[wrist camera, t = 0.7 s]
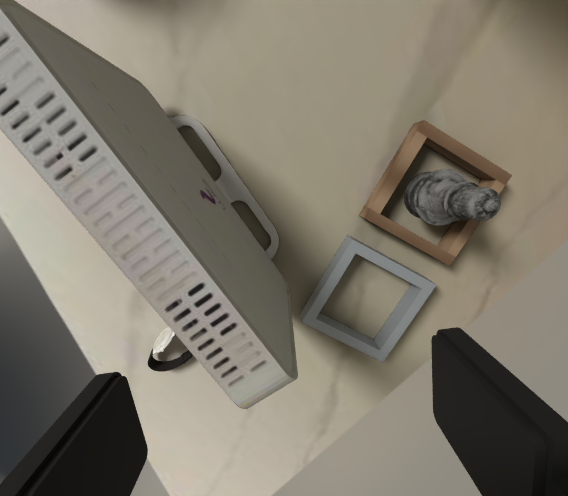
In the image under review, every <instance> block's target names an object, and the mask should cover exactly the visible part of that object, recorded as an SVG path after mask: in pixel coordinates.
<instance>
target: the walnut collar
mask: <svg viewBox="0 0 568 496" xmlns="http://www.w3.org/2000/svg"><path fill="white" fill-rule="evenodd" d="M423 144H425V145H426V146H428V147H430V148H431V149H433V150H435V151H436V152H438V153H440V154H441V155H443V156H444V157H446V158H448V159H449V160H451V161H453V162H454V163H456V164H457V165H459V166H461V167H462V168H464V169H466V170H467V171H469V172H470V173H472V174H474V175H475V176H477V177H479V178H480V179H481V181H480V182H479V184H478V186H479V187H487V188H491V189H493V190H495V191H496V192H497V193H498V194H500V192H501V191H502V189H503V188H504V186H505V185H506V184H507V182H508V181H509V179H510V178H511V176H512V175H511V174H509V173H508V172H506V171H505V170H503V169H501V168H500V167H498V166H497V165H495V164H493V163H492V162H490V161H489V160H487V159H485V158H484V157H482V156H481V155H479V154H477V153H476V152H474V151H473V150H471V149H469V148H468V147H466V146H465V145H463V144H461V143H460V142H458V141H457V140H455V139H453V138H452V137H450V136H449V135H447V134H445V133H444V132H442V131H441V130H439V129H437V128H436V127H434V126H433V125H431V124H429V123H428V122H426V121H425V120H423V121H420V122H418V123H415V124H413V126H412V128H411V129H410V131H409V133H408V134H407V136H406V138H405V139H404V141H403V143H402V144H401V146H400V148H399V149H398V151H397V153H396V154H395V156H394V158H393V159H392V161H391V163H390V164H389V166H388V168H387V169H386V171H385V173H384V174H383V176H382V178H381V179H380V181H379V183H378V184H377V186H376V188H375V189H374V191H373V193H372V194H371V196H370V198H369V199H368V201H367V203H366V204H365V206H364V208H363V209H362V211H361V213H360V214H359V216H361V217H363V218H365V219H366V220H368V221H370V222H372V223H374V224H375V225H377V226H379V227H381V228H383V229H384V230H386V231H388V232H390V233H391V234H393V235H395V236H397V237H399V238H400V239H402V240H404V241H406V242H408V243H409V244H411V245H413V246H415V247H417V248H418V249H420V250H422V251H424V252H426V253H427V254H429V255H431V256H433V257H434V258H436V259H438V260H440V261H442V262H443V263H445V264H447V265H449V266H450V265H451V263H452V262H453V260H454V259H455V257H456V256H457V255H458V253H459V252H460V250H461V249H462V247H463V246H464V244H465V243H466V241H467V240H468V239H469V237H470V236H471V234H472V233H473V231H474V230H475V228H476V227H477V226H478V224H479V223H480V221H475V220H471V219H468V220H463V221H458V220H456V221H454V222H453V223H452V224H451V226H450V227H449V229H448V230H447V232H446V233H445V235H444V236H443V238H442V239H441V241H440V242H439V244H438V245H437V246H436V245H434V244H432V243H430V242H429V241H427V240H425V239H423V238H421V237H420V236H418V235H416V234H414V233H413V232H411V231H409V230H407V229H406V228H404V227H402V226H400V225H398V224H397V223H395V222H393V221H391V220H390V219H388V218H386V217H384V216H383V215H381V214H380V213H381V212H382V210H383V208H384V207H385V205H386V203H387V202H388V200H389V198H390V197H391V195H392V194H393V192H394V190H395V189H396V187H397V185H398V184H399V182H400V181H401V179H402V177H403V176H404V174H405V172H406V171H407V169H408V168H409V166H410V164H411V163H412V161H413V159H414V158H415V156H416V155H417V153H418V151H419V150H420V148H421V146H422V145H423Z"/></svg>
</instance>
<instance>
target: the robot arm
mask: <svg viewBox="0 0 568 496" xmlns="http://www.w3.org/2000/svg"><path fill="white" fill-rule="evenodd" d="M432 379H433V381H432V382H433V413H434V417H435V419H436V422H437V424H438V426H439V427H440V428H441V430H442V432H443V433H444V435H445V437H446V438H447V440H448V442H449V443H450V445H451V446H452V448H453V449H454V451H455V453H456V454H457V456H458V458H459V459H460V461H461V462H462V464H463V466H464V467H465V469H466V470H467V472H468V474H469V475H470V477H471V478H472V480H473V482H474V483H475V485H476V486H477V488H478V490H479V491H480V493H481V494H482V496H568V422H567V421H566V420H564V419H563V418H562V417H561V416H560V415H559V414H558V413H557V412H555V411H554V410H553V409H552V408H551V407H550V406H548V405H547V404H546V403H545V402H544V401H543V400H542V399H541V398H539V397H538V396H537V395H536V394H535V393H534V392H533V391H531V390H530V389H529V388H528V387H527V386H526V385H525V384H523V383H522V382H521V381H520V380H519V379H518V378H517V377H515V376H514V375H513V374H512V373H511V372H509V370H507V369H506V368H505V367H504V366H503V365H502V364H500V363H499V362H498V361H497V360H496V359H495V358H494V357H493V356H491V355H490V354H489V353H488V352H487V351H486V350H485V349H483V348H482V347H481V346H480V345H479V344H478V343H476V342H475V341H474V340H473V339H472V338H471V337H470V336H469V335H467V334H466V333H465V332H464V331H463V330H462V329H460V328H449V329H441V330H438V331H437V335H434V336H432ZM147 452H148V449H147V444H146V441H145V437H144V434H143V431H142V427H141V424H140V421H139V417H138V414H137V411H136V407H135V404H134V400H133V397H132V394H131V390H130V387H129V384H128V380H127V378H126V377H125V376H122V375H121V374H120V373H119V372H113V373H105V374H99V375H97V376H95V377H94V378H93V380H92V381H91V382H90V383H89V384H88V385H87V386H86V388H85V389H84V390H83V391H82V392H81V393H80V394H79V395H78V397H77V398H76V399H75V400H74V401H73V402H72V403H71V404H70V406H69V407H68V408H67V409H66V410H65V411H64V412H63V414H62V415H61V416H60V417H59V418H58V419H57V420H56V421H55V423H54V424H53V425H52V426H51V427H50V428H49V430H48V431H47V432H46V433H45V434H44V435H43V437H41V439H40V440H39V441H38V442H37V443H36V444H35V445H34V446H33V448H32V449H31V450H30V451H29V452H28V453H27V454H26V456H25V457H24V458H23V459H22V460H21V461H20V462H19V463H18V465H17V466H16V467H15V468H14V469H13V470H12V471H11V473H10V474H9V475H8V476H7V477H6V478H5V479H4V481H3V482H2V483H1V484H0V496H130V495H131V492H132V490H133V488H134V486H135V484H136V481H137V479H138V477H139V475H140V472H141V470H142V468H143V466H144V464H145V461H146V459H147Z"/></svg>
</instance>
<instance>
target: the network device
mask: <svg viewBox="0 0 568 496" xmlns="http://www.w3.org/2000/svg"><path fill="white" fill-rule="evenodd" d="M182 126H191V127H192V128H193V129H194V130H195V131H196V132H197V134H198V135H199V137H200V138H201V140H202V141H203V142H204V144H205V145H206V147H207V148H208V149H209V151H210V152H211V154H212V155H213V156H214V158H215V159H216V161H217V162H218V164H219V165H220V167H221V175H220V177H219V179H218V180H216V181H214V180H213V179H212V177H211V176H210V175H209V173H208V172H207V170H206V169H205V168H204V166H203V165H202V163H201V162H200V161H199V159H198V158H197V157H196V155H195V154H194V152H193V151H192V150H191V148H190V147H189V145H188V144H187V143H186V141H185V140H184V138H183V137H182V136H181V134H180V133H179V132H178V129H179V128H180V127H182ZM0 129H1V131H2V132H3V133H4V134H5V135H6V136H7V138H8V139H9V140H10V141H11V142H12V144H13V145H14V146H15V147H16V148H17V149H18V151H19V152H20V153H21V154H22V155H23V156H24V158H25V159H26V160H27V161H28V162H29V163H30V165H31V166H32V167H33V168H34V169H35V170H36V172H37V173H38V174H39V175H40V176H41V177H42V179H43V180H44V181H45V182H46V183H47V184H48V186H49V187H50V188H51V189H52V190H53V191H54V193H55V194H56V195H57V196H58V197H59V199H60V200H61V201H62V202H63V203H64V204H65V206H66V207H67V208H68V209H69V210H70V211H71V213H72V214H73V215H74V216H75V217H76V218H77V220H78V221H79V222H80V223H81V224H82V225H83V227H84V228H85V229H86V230H87V231H88V232H89V234H90V235H91V236H92V237H93V238H94V239H95V241H96V242H97V243H98V244H99V245H100V246H101V248H102V249H103V250H104V251H105V252H106V254H107V255H108V256H109V257H110V258H111V259H112V261H113V262H114V263H115V264H116V265H117V266H118V268H119V269H120V270H121V271H122V272H123V273H124V275H125V276H126V277H127V278H128V279H129V280H130V282H131V283H132V284H133V285H134V286H135V287H136V289H137V290H138V291H139V292H140V293H141V294H142V296H143V297H144V298H145V299H146V300H147V302H148V303H149V304H150V305H151V306H152V307H153V309H154V310H155V311H156V312H157V313H158V314H159V316H160V317H161V318H162V319H163V320H164V321H165V323H166V324H167V325H168V326H169V327H170V328H171V330H172V331H173V332H174V333H175V334H176V335H177V337H178V338H179V339H180V340H181V341H182V342H183V344H184V345H185V346H186V347H187V348H188V349H189V351H190V352H191V353H192V354H193V355H194V357H195V358H196V359H197V360H198V361H199V362H200V364H201V365H202V366H203V367H204V368H205V369H206V371H207V372H208V373H209V374H210V375H211V376H212V378H213V379H214V380H215V381H216V382H217V383H218V385H219V386H220V387H221V388H222V389H223V390H224V392H225V393H226V394H227V395H228V396H229V397H230V399H231V400H232V401H233V402H234V403H235V404H236V405H237V406H238V407H240V408H242V409H248V408H249V407H251V406H253V405H254V404H256V403H258V402H259V401H261V400H263V399H264V398H266V397H267V396H269V395H271V394H272V393H274V392H276V391H277V390H279V389H281V388H282V387H284V386H286V385H287V384H289V383H291V382H292V381H294V380H296V379H297V377H298V372H297V362H296V352H295V342H294V332H293V322H292V311H291V301H290V291H289V287H288V285H287V283H286V281H285V279H284V277H283V276H282V274H281V273H280V272H279V270H278V269H277V267H276V266H275V265H274V263H273V262H272V261H271V259H272V258H273V257H274V255H275V254H276V252H277V250H278V245H279V237H278V233H277V231H276V229H275V227H274V226H273V224H272V223H271V221H270V220H269V219H268V217H267V216H266V214H265V213H264V211H263V210H262V209H261V207H260V206H259V204H258V203H257V201H256V200H255V199H254V197H253V196H252V194H251V193H250V191H249V190H248V189H247V187H246V186H245V184H244V183H243V181H242V180H241V179H240V177H239V176H238V174H237V173H236V171H235V170H234V169H233V167H232V166H231V164H230V163H229V161H228V160H227V159H226V157H225V156H224V154H223V153H222V151H221V150H220V149H219V147H218V146H217V144H216V143H215V141H214V140H213V139H212V137H211V136H210V134H209V133H208V131H207V130H206V129H205V127H204V126H203V125H202V124H201V123H199V122H198V121H197V120H195V119H193V118H191V117H188V116H175V117H172V118H170V119H169V118H168V116H167V115H166V114H165V112H164V111H163V109H162V108H161V107H160V105H159V104H158V102H157V101H156V100H155V98H154V97H153V96H152V94H151V93H150V92H149V91H148V90H147V89H146V88H145V86H144V85H143V84H142V83H140V82H139V81H138V80H136V79H135V78H133V77H132V76H130V75H129V74H127V73H126V72H124V71H122V70H121V69H119V68H118V67H116V66H115V65H113V64H112V63H110V62H109V61H107V60H105V59H104V58H102V57H101V56H99V55H98V54H96V53H95V52H93V51H91V50H90V49H88V48H87V47H85V46H84V45H82V44H81V43H79V42H78V41H76V40H74V39H73V38H71V37H70V36H68V35H67V34H65V33H64V32H62V31H61V30H59V29H57V28H56V27H54V26H53V25H51V24H50V23H48V22H47V21H45V20H43V19H42V18H40V17H39V16H37V15H36V14H34V13H33V12H31V11H30V10H28V9H26V8H25V7H23V6H22V5H20V4H19V3H17V2H16V1H14V0H0ZM237 200H240V201H244V202H245V203H247V205H248V206H249V207H250V209H251V210H252V212H253V213H254V214H255V216H256V217H257V219H258V220H259V221H260V223H261V224H262V226H263V227H264V228H265V230H266V231H267V233H268V234H269V236H270V237H271V244H270V246H269V247H268V248H267V249H266V250H264V249H263V248H262V247H261V245H260V244H259V242H258V241H257V240H256V238H255V237H254V236H253V234H252V233H251V231H250V230H249V229H248V227H247V226H246V224H245V223H244V222H243V220H242V219H241V218H240V216H239V215H238V213H237V212H236V211H235V209H234V208H233V206H232V205H231V203H232V202H234V201H237Z"/></svg>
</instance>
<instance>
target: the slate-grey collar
mask: <svg viewBox="0 0 568 496" xmlns="http://www.w3.org/2000/svg"><path fill="white" fill-rule="evenodd" d="M355 254H358V255H360V256H362V257H364V258H365V259H367V260H369V261H371V262H373V263H375V264H377V265H378V266H380V267H382V268H384V269H386V270H388V271H390V272H391V273H393V274H395V275H397V276H399V277H401V278H403V279H404V280H406V281H408V282H410V283H412V284H411V285H410V287H409V288H408V290H407V291H406V293H405V294H404V296H403V297H402V299H401V300H400V302H399V303H398V305H397V306H396V308H395V309H394V311H393V312H392V314H391V315H390V317H389V318H388V319H387V321H386V322H385V324H384V325H383V327H382V328H381V330H380V331H379V333H378V334H377V336H376V337H375V339H374V340H373V339H371V338H369V337H367V336H365V335H363V334H361V333H359V332H357V331H355V330H353V329H351V328H349V327H347V326H345V325H343V324H341V323H339V322H337V321H335V320H333V319H331V318H329V317H327V316H325V315H323V314H321V313H319V312H320V311H321V309H322V308H323V306H324V304H325V303H326V301H327V299H328V298H329V296H330V295H331V293H332V291H333V290H334V288H335V286H336V285H337V283H338V282H339V280H340V278H341V277H342V275H343V273H344V272H345V270H346V269H347V267H348V265H349V264H350V262H351V260H352V259H353V257H354V255H355ZM435 286H436V284H434V283H433V282H432V281H430V280H429V279H427V278H426V277H424V276H422V275H420V274H419V273H417V272H415V271H413V270H411V269H409V268H408V267H406V266H404V265H402V264H400V263H398V262H397V261H395V260H393V259H391V258H389V257H387V256H386V255H384V254H382V253H380V252H378V251H376V250H375V249H373V248H371V247H369V246H367V245H365V244H364V243H362V242H360V241H358V240H356V239H354V238H353V237H351V236H349V235H347V236H346V238H345V239H344V241H343V243H342V244H341V246H340V248H339V249H338V251H337V253H336V254H335V256H334V258H333V259H332V261H331V263H330V264H329V266H328V268H327V269H326V271H325V273H324V274H323V276H322V278H321V279H320V281H319V283H318V284H317V286H316V288H315V290H314V291H313V293H312V295H311V296H310V298H309V300H308V301H307V303H306V305H305V306H304V308H303V310H302V311H301V313H300V314H301V321H302V323H304V324H306V325H308V326H310V327H312V328H314V329H316V330H318V331H320V332H322V333H324V334H326V335H328V336H330V337H332V338H334V339H336V340H338V341H340V342H342V343H344V344H346V345H348V346H350V347H353V348H355V349H357V350H359V351H361V352H363V353H365V354H367V355H369V356H371V357H373V358H375V359H377V360H379V361H381V362H384V360H385V359H386V357H387V356H388V354H389V353H390V351H391V350H392V349H393V347H394V346H395V344H396V343H397V341H398V340H399V338H400V337H401V336H402V334H403V333H404V331H405V330H406V328H407V327H408V325H409V324H410V323H411V321H412V320H413V318H414V317H415V315H416V314H417V312H418V311H419V310H420V308H421V307H422V305H423V304H424V302H425V301H426V299H427V298H428V296H429V295H430V294H431V292H432V291H433V289H434V288H435Z"/></svg>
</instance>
